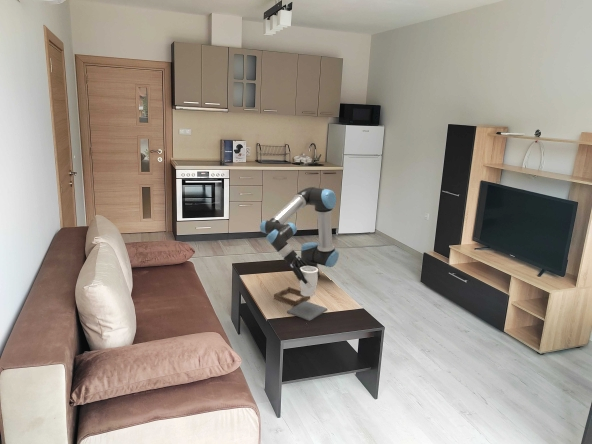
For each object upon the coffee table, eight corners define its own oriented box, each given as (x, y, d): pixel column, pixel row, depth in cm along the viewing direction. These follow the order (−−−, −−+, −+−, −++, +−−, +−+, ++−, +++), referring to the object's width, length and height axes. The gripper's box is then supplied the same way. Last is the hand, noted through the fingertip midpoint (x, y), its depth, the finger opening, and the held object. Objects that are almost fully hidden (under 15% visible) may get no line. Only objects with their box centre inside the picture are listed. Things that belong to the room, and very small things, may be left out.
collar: (289, 291, 288) (289, 286, 287) (310, 298, 279) (310, 293, 278) (273, 298, 276) (273, 294, 275) (295, 306, 267) (295, 301, 266)
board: (305, 302, 273) (305, 300, 273) (327, 310, 264) (327, 308, 264) (286, 312, 259) (286, 310, 259) (309, 320, 250) (309, 319, 250)
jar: (315, 298, 252) (316, 273, 249) (296, 296, 254) (298, 271, 251) (318, 291, 263) (319, 266, 259) (300, 289, 264) (301, 264, 261)
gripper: (289, 251, 268) (313, 280, 268) (276, 263, 247) (303, 295, 247) (298, 244, 266) (322, 273, 265) (286, 255, 244) (313, 287, 244)
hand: (313, 283), depth 256 cm, fingers closed on jar, 10 cm apart
